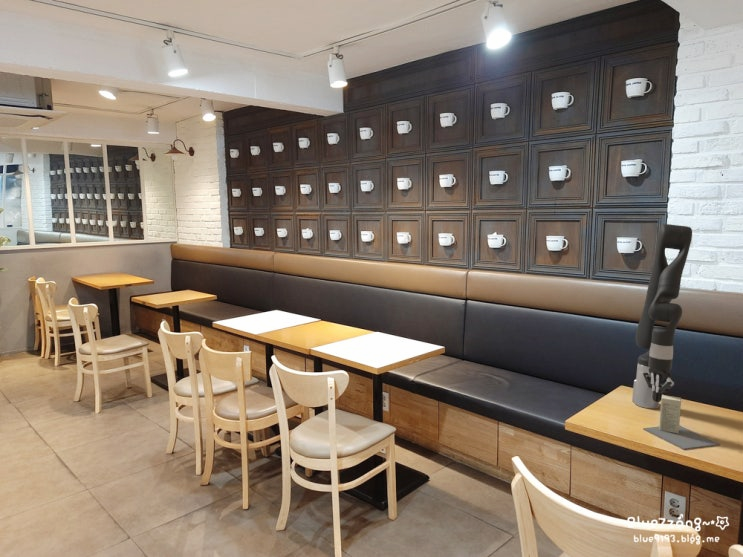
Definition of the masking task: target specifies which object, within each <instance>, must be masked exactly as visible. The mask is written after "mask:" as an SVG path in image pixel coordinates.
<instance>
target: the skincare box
mask: <svg viewBox="0 0 743 557" xmlns="http://www.w3.org/2000/svg"><path fill="white" fill-rule="evenodd" d="M681 405H682V397H678V396H671V395H665V394H662V397H661V401H660V414H659V425H658V426H659V430H662V431H667V432H673V433H679V425H680V422H681V421H680V419H681V410H682V408H681V407H682V406H681Z"/></svg>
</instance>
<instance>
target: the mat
mask: <svg viewBox="0 0 743 557" xmlns="http://www.w3.org/2000/svg"><path fill="white" fill-rule="evenodd" d="M642 430H644V431H646V432H647V433H649V434H651V435H654V436H655V437H657V438H659V439H661V440H664V441H665V442H667V443H669V444H672V445H673V446H675V447H677V448H679V449H681V450H683V451H685V450H693V449H694V450H695V449H700V448H708V447H715V446H721V442H720V443H719V442H718V441H715V440H713V439H710V438H709V437H706V436H704V435H702V434H699V433H697V432H695V431H693V430H691V429H689V428H687V427H685V426H682V425H680V424H679V433H673V432H667V431H662V430H659V425H658V426H651V427H643V429H642Z"/></svg>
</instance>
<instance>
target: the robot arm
mask: <svg viewBox="0 0 743 557" xmlns="http://www.w3.org/2000/svg"><path fill="white" fill-rule="evenodd" d="M692 239H693V229H692V227H690V226H687V225H679V224H668V223H663V224H662V225H661V226H660V228H659V231H658V235H657V241H656V248H655V254H654V260H653V265H652V269H651V273H650V278H649V281H648V286H647V290H646V296H645V297H646V298H645V301H644V306H643V308H642V312H641V316H640V318H639V322H638V325H637V328H636V332H635V343H636V345H637V347H638V348H640V349H645V350H646V349H648V351H647V352H645V353H643V354H640V355H639V356H638V358H637V364H636V365H637V368H636V375H635V376H636V377H635V379H634V380H633V386H632V387H633V388H632V391H633V392H632V399H631V402H633V403H634V404H635V405H636V406H639V407H641V408H645V409H653V410H654V409H658V408H660V403H661V397H662V395H663V393H667V392H668V391H670V389H672V388H673V387H674V386H675V385H676V381H673V380H672V379H671V373H670V372H671V370H672V368H673V358H674V340H675V332H676V329H677V327H678V325H679V322H680V320H681V319H682V318H681V317H682V315H683V308H682V306H681V305H680V304H678V303H673V302H671V301H672V300H675V299H677V298H678V297H679V295H680V291H681V290H680V288H681V281H682V277H683V272H684V269H685V265H686V262H687V259H688V256H689V252H690V247H691V244H692ZM666 249H671V250H678V253H677V255H676V257H675V258H674V259H673V260H672V261H671V262H670V263H668V260H667V257H666ZM656 321H657V322H663V323H669V324H668V325H666V326H660V325H659V326H657V325H655V323H656Z"/></svg>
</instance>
